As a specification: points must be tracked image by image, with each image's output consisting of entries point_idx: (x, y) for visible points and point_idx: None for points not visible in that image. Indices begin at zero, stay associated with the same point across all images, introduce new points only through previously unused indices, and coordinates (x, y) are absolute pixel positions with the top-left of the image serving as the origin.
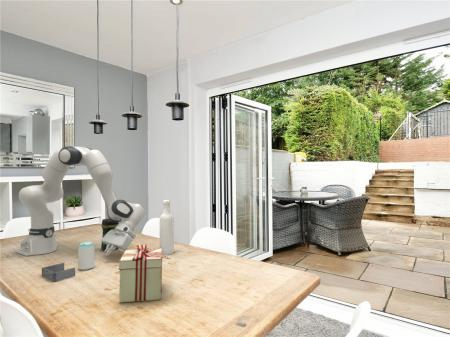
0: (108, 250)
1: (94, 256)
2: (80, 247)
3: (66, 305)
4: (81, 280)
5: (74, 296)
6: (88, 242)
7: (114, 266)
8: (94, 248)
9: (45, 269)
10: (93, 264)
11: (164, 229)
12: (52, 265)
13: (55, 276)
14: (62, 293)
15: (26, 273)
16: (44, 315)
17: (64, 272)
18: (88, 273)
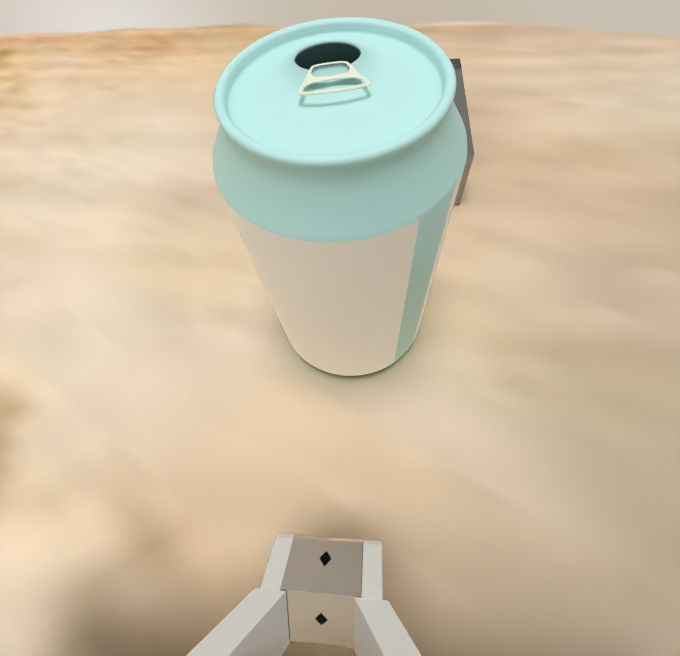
0: (269, 566)
1: (288, 316)
2: (321, 59)
3: (2, 84)
4: (156, 197)
5: (30, 118)
6: (411, 137)
7: (141, 501)
8: (262, 250)
9: None
10: (285, 332)
11: None
12: (461, 100)
13: None
14: (110, 104)
15: (571, 83)
16: (24, 40)
17: None
18: (221, 270)
